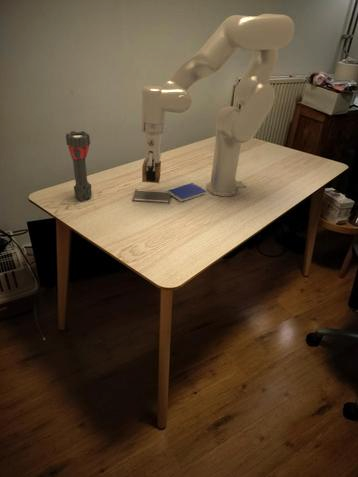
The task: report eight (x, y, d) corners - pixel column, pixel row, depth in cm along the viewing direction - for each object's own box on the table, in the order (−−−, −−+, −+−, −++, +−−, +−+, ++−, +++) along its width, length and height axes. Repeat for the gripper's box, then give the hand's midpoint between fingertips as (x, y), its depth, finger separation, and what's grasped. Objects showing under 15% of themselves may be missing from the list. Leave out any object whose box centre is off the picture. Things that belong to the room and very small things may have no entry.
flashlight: (88, 189, 126) (81, 128, 113) (99, 196, 122) (93, 134, 109) (69, 194, 122) (60, 132, 109) (80, 202, 117) (72, 139, 104)
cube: (160, 176, 122) (160, 160, 119) (158, 183, 118) (159, 167, 114) (144, 175, 122) (144, 159, 119) (142, 181, 117) (142, 165, 114)
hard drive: (191, 182, 133) (168, 189, 125) (206, 190, 128) (181, 198, 121) (191, 185, 133) (167, 193, 126) (205, 193, 129) (181, 202, 122)
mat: (171, 192, 128) (171, 191, 128) (170, 203, 121) (170, 202, 120) (135, 190, 128) (135, 189, 128) (132, 201, 120) (132, 200, 120)
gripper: (162, 135, 102) (160, 188, 112) (165, 120, 116) (163, 168, 127) (138, 133, 102) (138, 186, 112) (144, 118, 116) (144, 167, 127)
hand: (151, 176), depth 119 cm, fingers closed on cube, 6 cm apart
